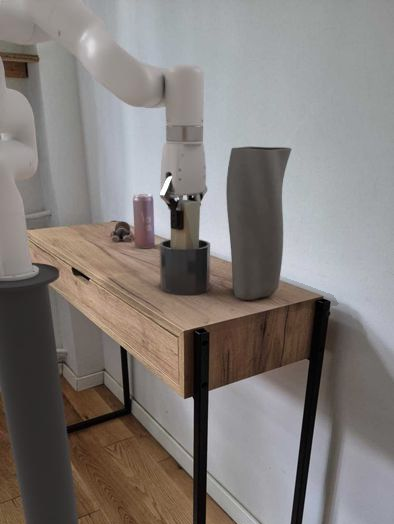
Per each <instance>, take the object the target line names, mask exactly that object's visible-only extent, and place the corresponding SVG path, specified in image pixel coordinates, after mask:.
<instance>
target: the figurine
mask: <svg viewBox="0 0 394 524" xmlns="http://www.w3.org/2000/svg"><path fill="white" fill-rule="evenodd" d="M108 238H111V240H112V242H114V243H118V242H120V240H121V241H122V240H123V241H124V242H126V243H128V242H130V241H131V238H135V234H134V231H131V225H130V224H129V223H128V222H126V221H118V222H117V223H116V224H115V227H114V230H113V231H110V232H108Z"/></svg>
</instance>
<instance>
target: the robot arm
mask: <svg viewBox="0 0 394 524" xmlns="http://www.w3.org/2000/svg"><path fill="white" fill-rule="evenodd" d="M107 27H108V26H107V24H106V22H105V21H104V19H102V18H101V17H100V16H99V15H98V14H97V13H96V12H94V11H93V10H91V9H90V8H89V7H88V6H86V5H85V4H84V2H83V0H0V41H3V42H8V43H12V44H15V45H21V46H31V45H32V46H33V45H36V44H41V43H45V42H49V41H56V42H57V43H58V44H60V45H61V46H62V47H63V48H64V49H66V50H67V51H68V52H69V53H70V54H72V55H73V56H74V57H75V58H77V59H78V60H79V61H80V62H81V64H82V67H84V68H85V69H86V71H87V72H88V73H89V74H90V75H91V77H93V78H94V80H96V82H98V83H99V84H100V85H101V86H102V87H104V88H105V89H106V90H108V91H109V92H110V93H111V94H112V95H114V97H116V98H118V100H120V101H122V102H123V103H124V104H126V105H128V106H131V107H134V108H145V109H160V108H165V143H163V145H162V146H163V147H162V152H161V159H160V160H161V161H160V162H161V163H160V194H159V198H160V199H161V200H163V201H164V203H165V204H166V206H167V209H168V210H169V212H170V215H169V217H170V218H169V220H170V225H169V226H170V230H171V229H176V230H183V228H184V214H183V211H181V208H182V201H183V200H184V196H186V200H190V201H196V202H200V207H201V206H202V201H203V198H204V196H205V195H206V194H207V192H208V187H207V185H206V184H207V168H206V166H207V165H206V164H207V163H206V153H205V143H204V105H205V104H204V103H205V102H204V100H205V99H204V97H205V95H204V94H205V88H204V87H205V75H204V71H203V69H202V67H200V66H199V65H195V64H173V65H170V66H168V67H167V68H165V67H159V66H154V65H151V64H148V63H144V62H141V61H140V60H138V59H137V58H136V57H134V56H133V55H132V54H130V53H129V52H128V51H127V50H126V49H125V48H123V47H121V46H120V44H118V43H117V42H116V41H115V40H114V39H113V38H112V37H111V36H110V34H108V28H107ZM5 74H6V73H5V67H4V62H3V60H2V56H0V281H18V280H24V279H28V278H32V277H34V276H36V275H38V273H39V268H38V267H37V266H34V265H32V263H33V262H32V256H31V250H30V249H31V248H30V242H29V236H28V235H29V233H28V228H27V221H26V213H25V207H24V201H23V198H22V195H21V193H20V191H19V188H18V187H17V184H16V183H15V182H20V181H21V182H22V181H27V180H29V179H31V178H33V176H34V175H35V174H36V172H37V169H38V165H39V153H38V143H37V133H36V122H35V116H34V112H33V108H32V106H31V104H30V102H29V99H27V98H26V96H25V95H24V94H23V93H21V92H20V91H18V90H16V89H13V88H8V87H7V82H6V75H5ZM176 200H177V202H176Z"/></svg>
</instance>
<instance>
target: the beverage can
mask: <svg viewBox="0 0 394 524" xmlns="http://www.w3.org/2000/svg"><path fill="white" fill-rule="evenodd" d="M132 197H133V198H132V209H133V212H132V213H133V232H134V234H135V236H134V245H135V247H136V248H138V249H151V248H154V247H155V244H156V242H155V240H156V239H155V237H156V236H155V207H154V206H155V205H154V197H153V194H149V193H137V194H133V196H132Z"/></svg>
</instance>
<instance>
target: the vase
mask: <svg viewBox="0 0 394 524" xmlns="http://www.w3.org/2000/svg"><path fill="white" fill-rule="evenodd" d="M291 153H292V147H283V146H281V147H280V146H276V147H275V146H273V147H272V146H271V147H269V146H241V147H240V146H239V147H232V148H231V149H230V156H229V160H228V166H227V174H226V186H225V187H226V188H225V189H226V192H225V193H226V211H227V223H228V232H229V241H230V242H229V245H230V254H231V255H230V257H231V279H232V280H231V281H232V282H231V283H232V291H233V295H234V297H235V298H236V299H239V300H243V301H254V300H258V299H260V298H265V297H269V296H271V295H273V294H275V292H277V290H278V289H279V286H280V279H281V272H282V264H283V254H284V253H283V252H284V216H283V215H284V214H283V185H284V179H285V174H286V173H285V172H286V168H287V165H288V161H289V159H290V155H291Z"/></svg>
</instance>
